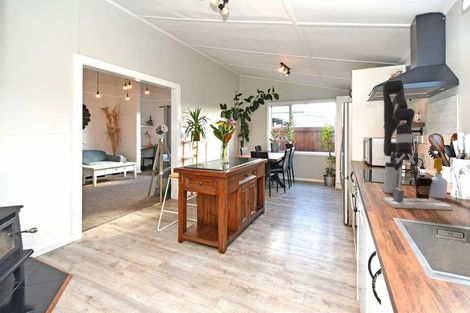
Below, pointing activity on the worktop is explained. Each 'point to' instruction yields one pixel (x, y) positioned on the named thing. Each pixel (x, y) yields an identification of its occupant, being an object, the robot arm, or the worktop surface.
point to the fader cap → (398, 194)
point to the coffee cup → (423, 187)
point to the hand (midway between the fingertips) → (404, 170)
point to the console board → (417, 203)
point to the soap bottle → (438, 181)
